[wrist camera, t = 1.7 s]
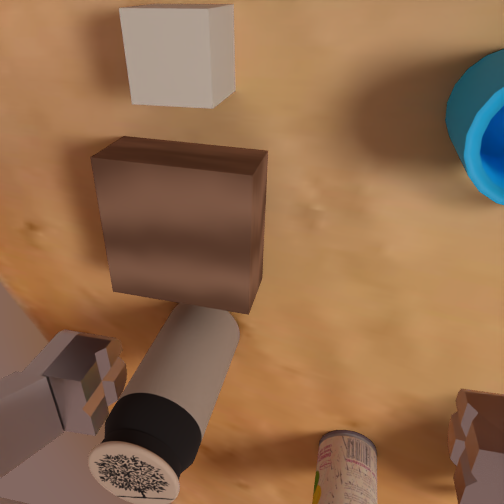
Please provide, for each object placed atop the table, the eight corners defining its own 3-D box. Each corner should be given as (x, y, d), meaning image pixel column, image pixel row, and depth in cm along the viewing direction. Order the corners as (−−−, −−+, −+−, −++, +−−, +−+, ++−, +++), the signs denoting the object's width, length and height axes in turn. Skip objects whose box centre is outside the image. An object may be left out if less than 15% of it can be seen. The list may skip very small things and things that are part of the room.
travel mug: (163, 296, 48) (69, 438, 33) (234, 297, 46) (167, 449, 31) (180, 352, 52) (102, 502, 37) (245, 355, 50) (191, 516, 35)
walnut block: (125, 135, 40) (90, 157, 35) (268, 149, 38) (252, 175, 33) (140, 258, 47) (113, 291, 42) (262, 276, 45) (248, 314, 40)
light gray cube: (156, 3, 34) (118, 7, 29) (233, 4, 33) (208, 8, 28) (165, 87, 37) (132, 104, 32) (235, 90, 36) (213, 108, 31)
